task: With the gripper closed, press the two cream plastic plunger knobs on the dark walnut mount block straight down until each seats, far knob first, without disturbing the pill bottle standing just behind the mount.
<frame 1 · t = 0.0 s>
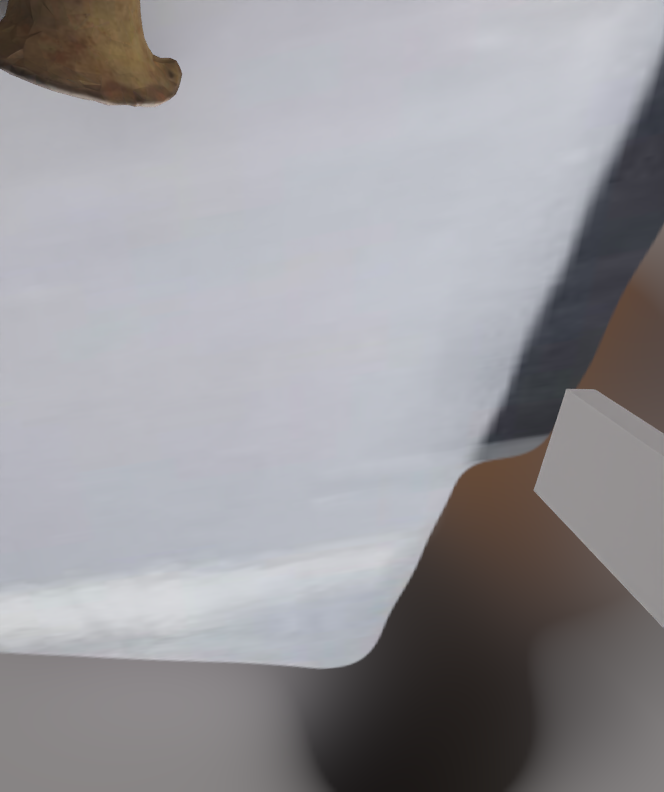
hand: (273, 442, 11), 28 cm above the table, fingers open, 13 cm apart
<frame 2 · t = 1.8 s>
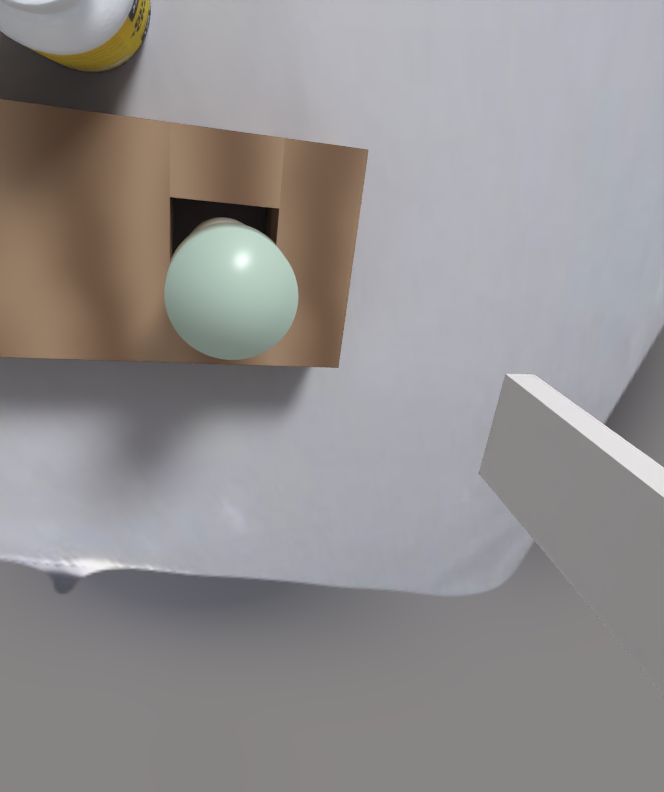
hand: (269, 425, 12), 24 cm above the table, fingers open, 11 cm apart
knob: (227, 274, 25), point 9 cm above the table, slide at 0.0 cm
mount: (94, 229, 31), on the table
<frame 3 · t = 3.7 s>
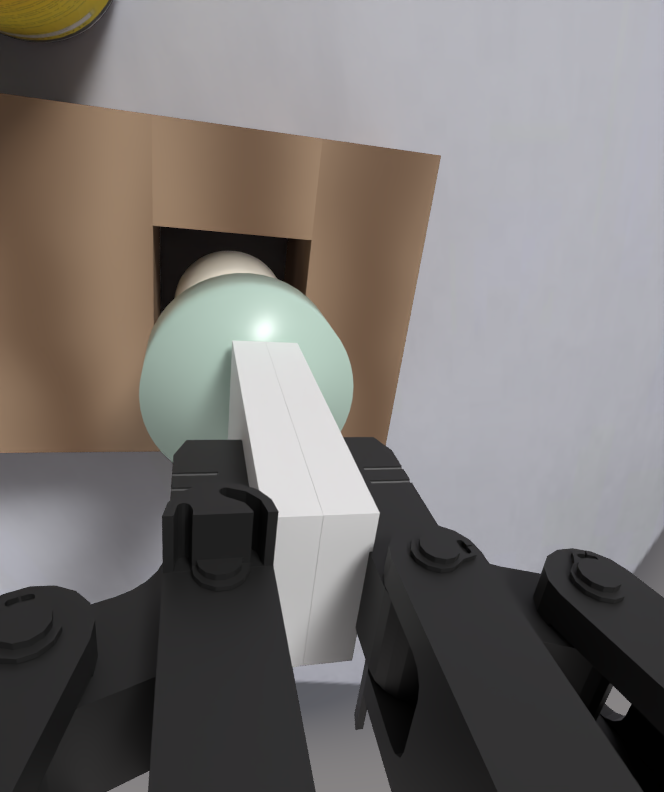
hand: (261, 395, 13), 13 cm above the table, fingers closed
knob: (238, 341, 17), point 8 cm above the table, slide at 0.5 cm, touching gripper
mount: (50, 263, 23), on the table
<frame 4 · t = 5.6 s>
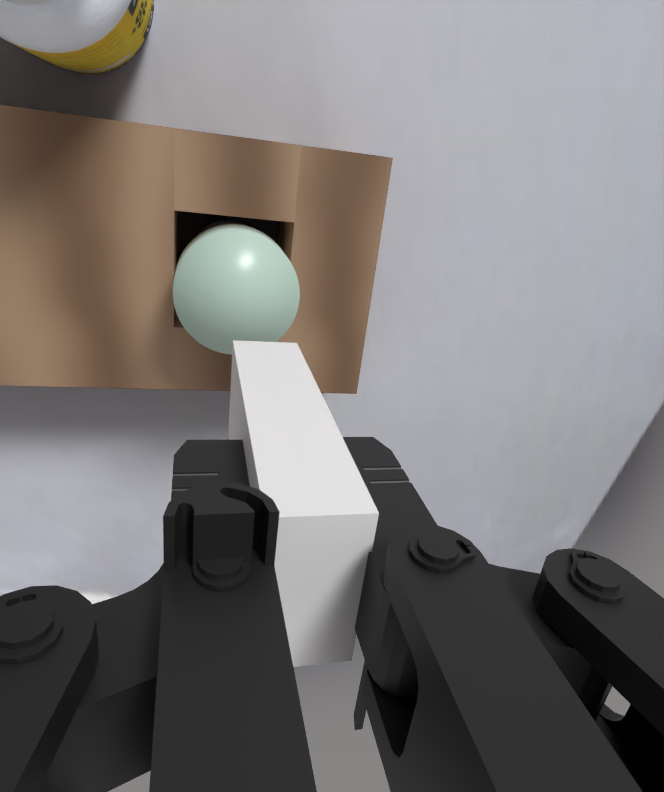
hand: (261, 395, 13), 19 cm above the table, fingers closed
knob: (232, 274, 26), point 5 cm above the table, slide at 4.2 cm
mount: (92, 244, 29), on the table
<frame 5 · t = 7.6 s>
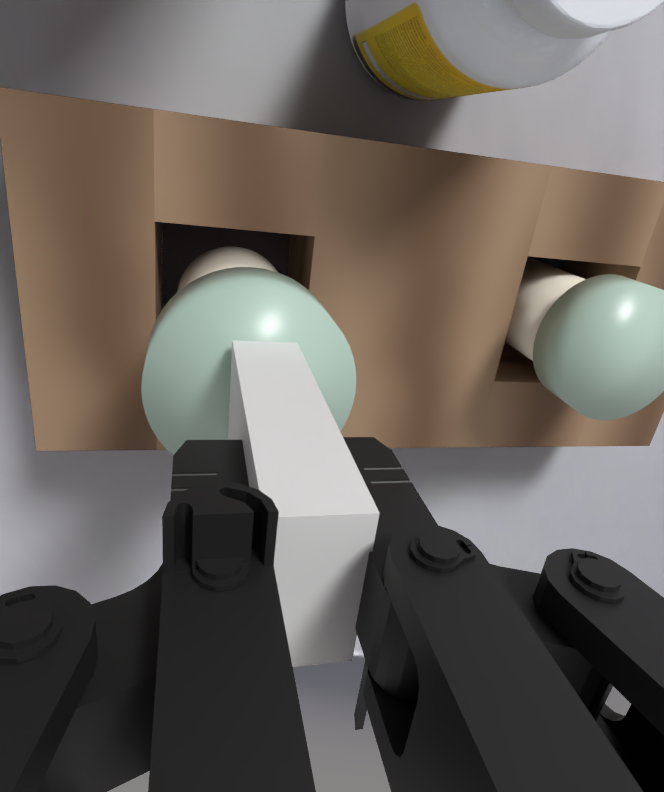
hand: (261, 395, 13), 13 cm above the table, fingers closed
pill bottle: (418, 8, 22), on the table
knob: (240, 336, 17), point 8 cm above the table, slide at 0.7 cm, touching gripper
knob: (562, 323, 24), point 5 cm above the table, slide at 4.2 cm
mount: (376, 284, 26), on the table
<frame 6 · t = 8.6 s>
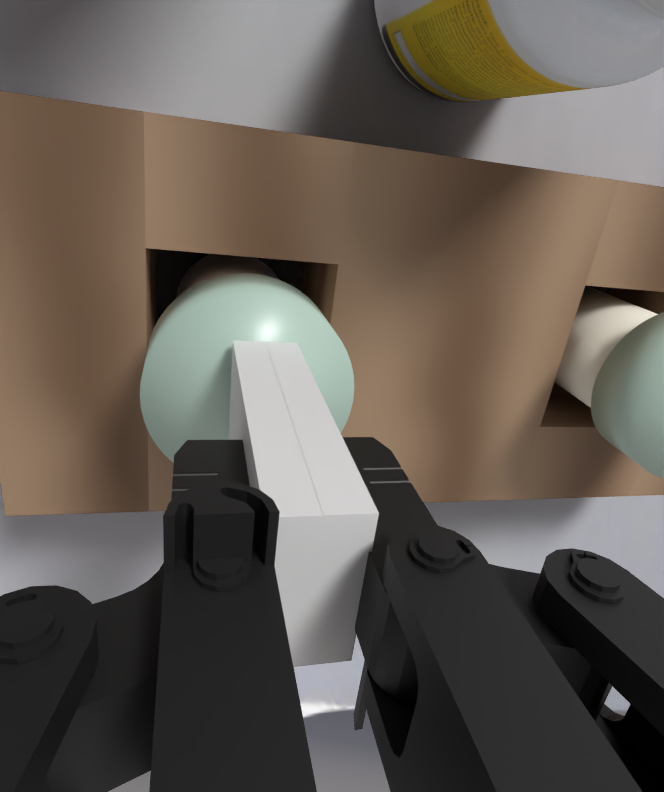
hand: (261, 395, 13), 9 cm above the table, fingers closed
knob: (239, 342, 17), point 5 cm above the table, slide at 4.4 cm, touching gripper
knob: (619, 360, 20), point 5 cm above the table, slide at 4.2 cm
mount: (401, 311, 23), on the table
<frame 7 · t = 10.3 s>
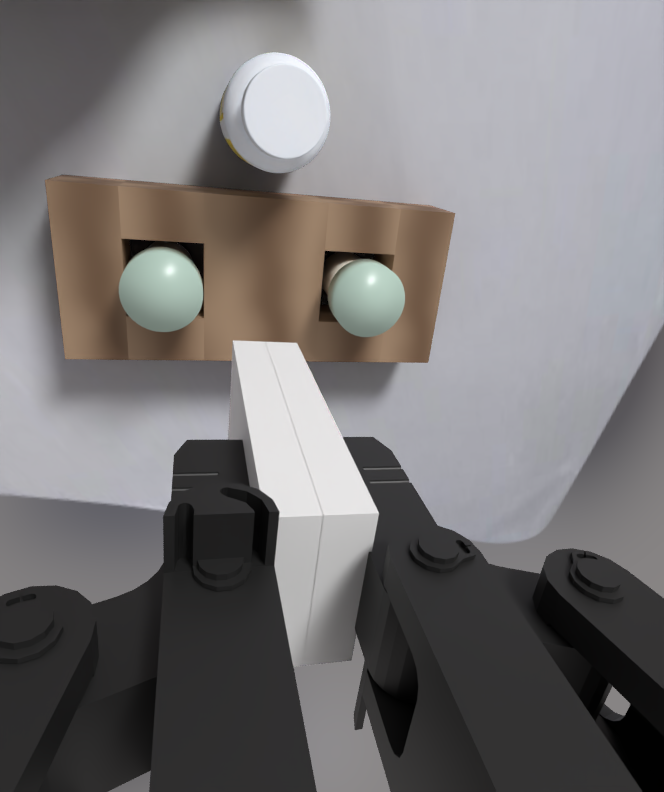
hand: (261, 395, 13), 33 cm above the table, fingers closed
pill bottle: (263, 118, 40), on the table
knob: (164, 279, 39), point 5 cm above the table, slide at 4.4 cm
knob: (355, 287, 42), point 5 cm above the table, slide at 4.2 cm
mount: (257, 269, 44), on the table
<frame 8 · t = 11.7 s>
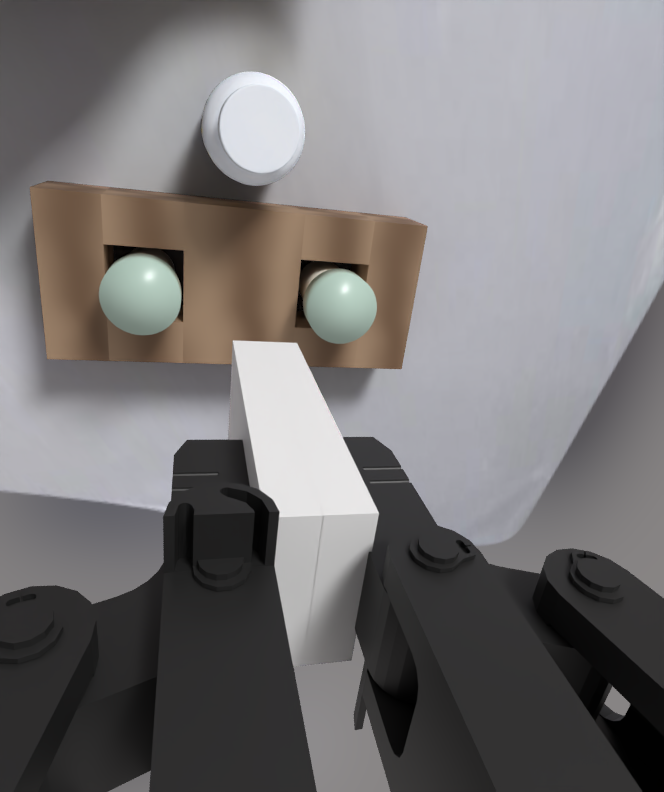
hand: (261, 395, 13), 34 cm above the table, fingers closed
pill bottle: (244, 131, 42), on the table
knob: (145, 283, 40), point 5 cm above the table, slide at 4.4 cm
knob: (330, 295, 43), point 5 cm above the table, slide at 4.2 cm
mount: (237, 275, 46), on the table
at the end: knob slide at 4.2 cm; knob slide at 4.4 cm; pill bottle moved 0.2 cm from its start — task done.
